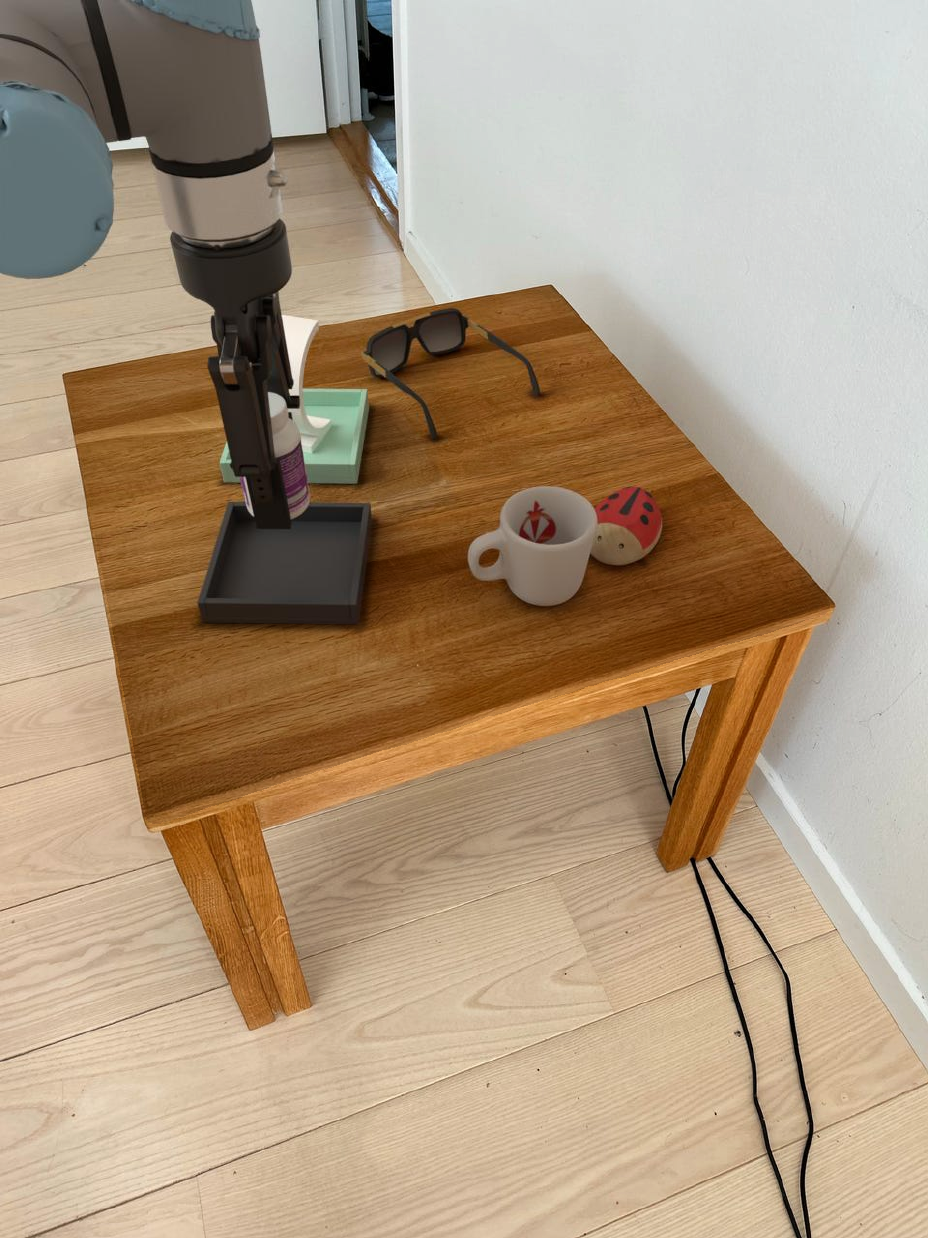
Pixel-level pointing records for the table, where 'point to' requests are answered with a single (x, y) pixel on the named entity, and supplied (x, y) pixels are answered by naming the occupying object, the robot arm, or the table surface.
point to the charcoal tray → (289, 567)
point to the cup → (539, 545)
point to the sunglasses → (427, 347)
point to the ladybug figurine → (626, 526)
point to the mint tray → (329, 436)
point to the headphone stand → (298, 345)
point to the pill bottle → (286, 458)
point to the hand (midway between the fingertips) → (280, 501)
